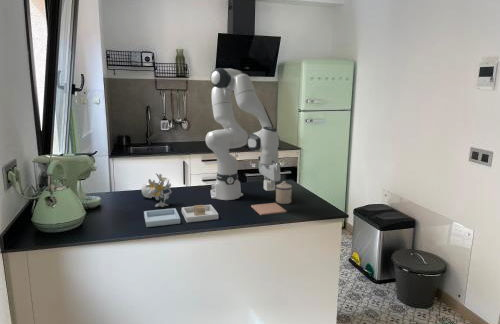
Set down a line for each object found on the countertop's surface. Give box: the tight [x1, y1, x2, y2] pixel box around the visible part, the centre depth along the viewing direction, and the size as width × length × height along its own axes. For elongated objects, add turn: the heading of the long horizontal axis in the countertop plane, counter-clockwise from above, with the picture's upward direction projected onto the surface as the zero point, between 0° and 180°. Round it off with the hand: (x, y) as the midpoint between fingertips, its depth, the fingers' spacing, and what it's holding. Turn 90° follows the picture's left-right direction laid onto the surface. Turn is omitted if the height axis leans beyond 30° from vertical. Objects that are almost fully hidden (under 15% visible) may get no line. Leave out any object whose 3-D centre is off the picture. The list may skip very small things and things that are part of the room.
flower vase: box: [141, 173, 173, 208], centre depth 201 cm, size 13×18×25 cm
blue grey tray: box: [143, 207, 181, 228], centre depth 173 cm, size 15×15×3 cm
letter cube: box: [263, 179, 276, 192], centre depth 188 cm, size 4×4×5 cm
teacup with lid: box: [275, 180, 293, 205], centre depth 204 cm, size 12×9×12 cm
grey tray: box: [181, 204, 219, 223], centre depth 179 cm, size 15×15×3 cm
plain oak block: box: [193, 204, 205, 216], centre depth 179 cm, size 4×4×4 cm
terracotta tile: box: [250, 202, 287, 216], centre depth 191 cm, size 14×14×1 cm
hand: (269, 186), depth 188 cm, fingers closed on letter cube, 4 cm apart
